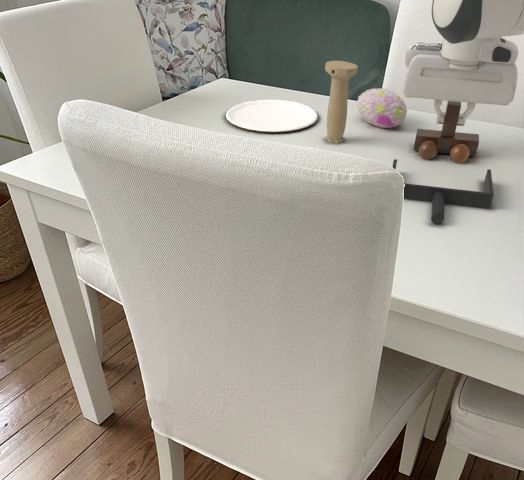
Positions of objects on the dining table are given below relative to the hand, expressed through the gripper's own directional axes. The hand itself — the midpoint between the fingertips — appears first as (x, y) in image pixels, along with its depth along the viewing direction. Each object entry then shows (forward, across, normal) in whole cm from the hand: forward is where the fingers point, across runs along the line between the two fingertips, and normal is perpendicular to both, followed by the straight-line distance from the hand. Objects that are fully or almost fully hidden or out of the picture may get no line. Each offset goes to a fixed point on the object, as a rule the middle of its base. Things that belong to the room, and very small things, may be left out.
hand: (450, 124), depth 111 cm
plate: (+6, -38, +10) cm, 40 cm away
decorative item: (+6, -14, +13) cm, 20 cm away
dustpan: (+6, -1, -22) cm, 23 cm away
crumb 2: (+4, +3, -4) cm, 6 cm away
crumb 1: (+4, -3, -4) cm, 6 cm away
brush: (+5, 0, 0) cm, 5 cm away
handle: (+6, -22, 0) cm, 23 cm away
